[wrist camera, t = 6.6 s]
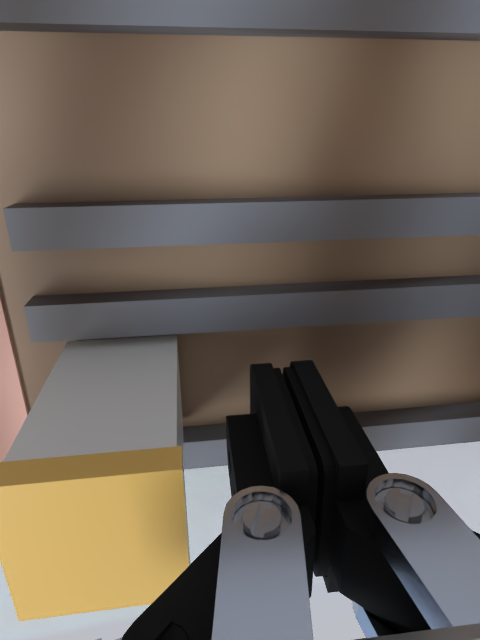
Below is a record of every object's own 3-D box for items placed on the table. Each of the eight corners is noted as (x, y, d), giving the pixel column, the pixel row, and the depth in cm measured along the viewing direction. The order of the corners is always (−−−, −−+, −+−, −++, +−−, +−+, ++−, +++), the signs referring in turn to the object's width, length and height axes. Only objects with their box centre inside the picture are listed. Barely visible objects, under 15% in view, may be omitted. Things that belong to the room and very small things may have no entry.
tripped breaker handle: (180, 331, 12) (182, 469, 7) (186, 425, 14) (191, 598, 9) (62, 338, 12) (-23, 489, 7) (80, 434, 13) (19, 621, 8)
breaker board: (761, -7, 13) (1425, -167, 6) (609, 395, 18) (869, 552, 12) (-164, -42, 10) (-912, -428, 3) (-20, 449, 16) (-179, 702, 9)
